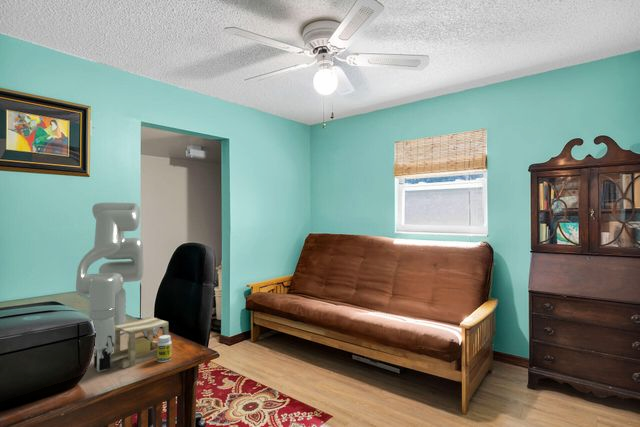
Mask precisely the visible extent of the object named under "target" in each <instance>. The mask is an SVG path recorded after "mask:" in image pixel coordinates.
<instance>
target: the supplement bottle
mask: <svg viewBox="0 0 640 427" xmlns="http://www.w3.org/2000/svg"><path fill="white" fill-rule="evenodd" d="M157 342H158V344H157V357H156V361H157V362H158V363H166V362H168V361H169V362H170V361H171V360H172V355H173V354H172V349H173V348H172V346H173V345H172V344H173V343H172V340H171V335H170V334H168V335H163V336H162V335H160V336H158V341H157Z"/></svg>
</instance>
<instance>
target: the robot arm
mask: <svg viewBox="0 0 640 427" xmlns="http://www.w3.org/2000/svg"><path fill="white" fill-rule="evenodd" d="M91 211H92V214H93V215H92V216H93V218H94V219H95V229H94V230H95V232H94V245H93V248H91V249H90V250H89V251H88V252H87V253H86V254H85V255H84V256H83V257H82V258H81V260H80V262H79V263H78V266H77V270H76V277H75V280H76V281H75V290H76V293H77V294H78V295H79V296H82V297H88V302H89V303H88V319H89V318H90V319H92V320H93V322H94V325H95V330H96V337H95V346H94V349H93V357H94V358H93V361H94V362H93V368H94V369H97V350H98V351H100V356H101V358H100V359H99V370H100V372H103V371H102V370H105V369H107V370H108V369H110V367H111V362H110V356H111V354H112V353H114V345H115V326H116V325H120V324H124V323H127V322H126V321H127V320H126V319H127V318H126V316H127V315H126V314H127V313H126V312H127V311H126V308H127V306H126V303H127V302H126V300H127V299H126V297H127V296H126V295H127V294H126V289H124V283H131V282H139V281H141V280H142V279H143V276H144V245H143V241H142V240H141V239H140V238H137V237H125V232H133V231H137V229H138V228H139V224H140V217H141V210H140V206H139V205H138V204H137V203H133V202H98V203H95V204H94V205H92V209H91ZM103 258H104V259H106V260H114V261H108V262H104V263H103V264H101V265H100V266H99V268H98V273H89V274H88V270H89V268H90V267H91V265H93V264H94V263H95V262H97V261H99V260H101V259H103ZM115 260H117V261H115ZM119 260H120V261H119ZM121 260H122V261H121ZM124 260H125V261H124ZM122 334H125V333H124V332H121V331H120V335H122ZM105 347H106V348H105ZM104 350H107V351H105V352H104ZM105 371H106V370H105Z"/></svg>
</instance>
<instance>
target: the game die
mask: <svg viewBox="0 0 640 427" xmlns="http://www.w3.org/2000/svg"><path fill="white" fill-rule="evenodd" d="M155 318H157V319H158V317H157V316H156V317H155ZM160 328H161V327H158V328H155V329H153V337H157V338H159V336H158V333H159V330H160ZM141 333H142V335H143V336H144V338H145V339H147V331H144V332H141Z"/></svg>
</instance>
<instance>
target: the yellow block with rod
mask: <svg viewBox="0 0 640 427" xmlns="http://www.w3.org/2000/svg"><path fill="white" fill-rule="evenodd" d="M106 347H107V346H105V348H106ZM127 349H128V354H127V355H124V356H121V357H117V358H114V359H111V360H110V363H113V361H114V362H117V361H119V359H120V360H123V359H127V358H129V340H128V341H127ZM105 351H107V350H104V352H105ZM148 351H151V349H150V340H148V339H147V338H145V337H143V336H142V337H139V338H135V356H136V355H139V354H142V353H145V352H148ZM125 357H126V358H125ZM100 358H101V356H100V351H98V350H97V368H96V372H99V373H100V372H104V371H107V370H108V369H105V370H102V371H100V370H99V359H100ZM122 358H123V359H122ZM116 360H117V361H116Z"/></svg>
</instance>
